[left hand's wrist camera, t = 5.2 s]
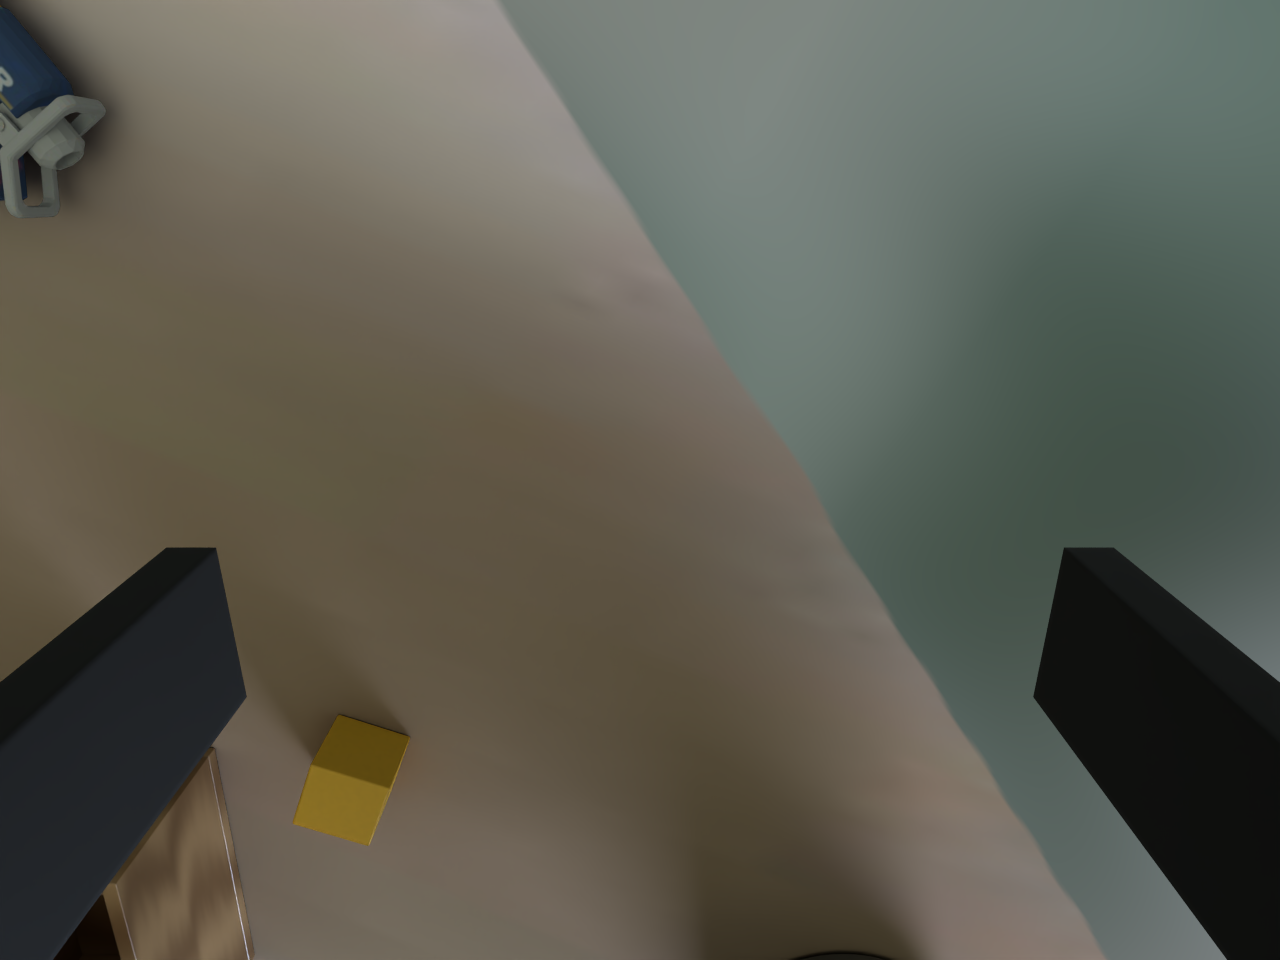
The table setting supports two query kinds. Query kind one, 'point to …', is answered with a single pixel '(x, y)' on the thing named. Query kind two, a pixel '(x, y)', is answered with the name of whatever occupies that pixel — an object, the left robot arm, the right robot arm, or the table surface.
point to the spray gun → (36, 119)
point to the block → (351, 780)
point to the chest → (173, 887)
